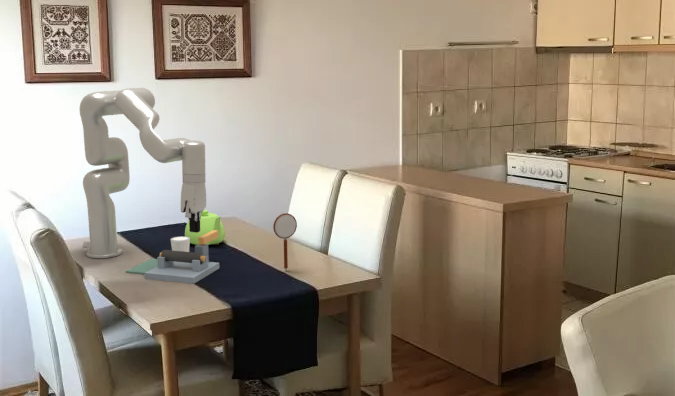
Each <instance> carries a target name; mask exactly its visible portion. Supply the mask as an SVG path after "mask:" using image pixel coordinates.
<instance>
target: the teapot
mask: <svg viewBox="0 0 675 396" xmlns="http://www.w3.org/2000/svg"><path fill="white" fill-rule="evenodd" d="M222 218H223V217H222V216H218V214H216V213H213V212H209V210H208V209H204V211H203V212H202V213H201V219H200V232H198V233H196V232H190V231H189V220H188V221H187V223H186V225H185V229H184V237H189V238H190V244H192V245H195V246H196V245H198V244H199V240H198V237H200V236H202V235H204V234H206V233H209V232H211V231H213V230H217V231H218V234H219V237H218V238H216V239H214V240H212V241H210V242H208V243H206V244H208V246H210V245H220V244H219V243H222V242H223V240H224V239H225V238H226V230H225V227H224V224H223V221H222V220H221V219H222Z"/></svg>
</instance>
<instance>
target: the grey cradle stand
mask: <svg viewBox="0 0 675 396" xmlns="http://www.w3.org/2000/svg"><path fill="white" fill-rule="evenodd" d="M194 252H195V253H203V256H205V257H206V260H205V261H203V262H202V264H200V260H192V263H186V262H175V261H165V257H160V256H157V258H156V259H157V262H158V266H157V267H155V268H153V269H151V270H149V271H147V272H146V273H145V275H144V279H145V280H152V281H153V280H156V281H166V282H173V283H185V284H192V285H193V284H196V283H197V282H199V281H200V280H202V279H205V278H206V277H208V276H209V275H211V274H213V273H214V272H216V271H217V270H220V262H214V261H210V260H209V258H210V257H209V256H210V255H209V245H208V244H204V245H202V244H198V245H195V246H194Z"/></svg>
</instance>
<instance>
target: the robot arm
mask: <svg viewBox="0 0 675 396" xmlns="http://www.w3.org/2000/svg"><path fill="white" fill-rule="evenodd" d="M155 105H156V99H155V96H154V94H153V93H152V91H151V90H150V89H148V88H146V87H145V88H144V87H134V88H133V87H132V88H124V89H121V90H108V91H107V90H104V91H94V92H91V93H88V94H86V95H85V96H83V98H82V99H81V101H80V103H79V116H80V120H81V125H82V129H83V130H82V131H83V145H84V155H85V156H84V157H85V160H86V162H87V163H88V164H89V165H91V166H92V167H93V166H94V167H96V166H97V167H98V166H99V167H100V166H107V165H108V166H107V167H104V168H97V169H94V170H90V171H88V172H87V173H86V174H85V175H84V177H83V178H82V179H83V180H82V188H83V190H84V194H85V199H86V205H87V218H88V232H89V233H88V234H89V241H83V243H82V245H81V246H82V248H84V249H87V251H86V257H88V258H92V259H108V258H113V257H114V258H115V257H117V256H120V255H121V254H122V253H123V249H122V248H120V247H118V236H117V232H118V231H117V219H116V207H115V206H116V205H115V203H114V201H113V200H112V197H111V195H110V194H113V193H115V194H116V193H120V192H122V191H125V190H126V189H127V188H128V187H129V185H130V180H131V179H130V164H129V163H130V161H129V151H128V147H127V145H126V143H125V142H124V140H123V139H121V138H120V137H117V136H116V137H115V136H114V137H113V136H111V137H110V135H109V128H108V123H107V122H106V120H105V118H103V117H104V116H105V117H106V116H117V115H124V117H126V119H127V120H129V121H130V123H132V124H133V126H135V128H136V129H138V131H139V134H138V135H139V140H140V143H141V146H142V147H143V149H144V150H145V151H146V152H147V153H148V155H149V156H150V157H152V158H153V160H155V161H157V162H158V163H162V164H167V163H173V162H180V161H182V162H181V165H182V166H181V167H182V170H181V171H182V172H181V173H182V185H181V191H180V212H181V213H185V214H184V217H185V218H187V220H188V221H189V231H190V232H196V233H198V232H200V219H201V213H202V212H203V211H204V210H206V208H207V189H206V145H205V143H204V142H203V141H201V140H191V139H188V138H184V137H177V138H169V139H163V138H161V137H160V136H159V135H158V134H157V133H156V132H155V131H154V130H155V128H157V126H158V124H159V122H160V115H159V113H158V112H157V111H156V110H155V109H154V108H155Z"/></svg>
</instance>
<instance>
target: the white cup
mask: <svg viewBox="0 0 675 396" xmlns="http://www.w3.org/2000/svg"><path fill="white" fill-rule="evenodd" d="M190 244H191V243H190V238H189V237H185V236H173V237H171V238H170V245H171V250H172V251H184V252H190V247H191V246H190Z"/></svg>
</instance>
